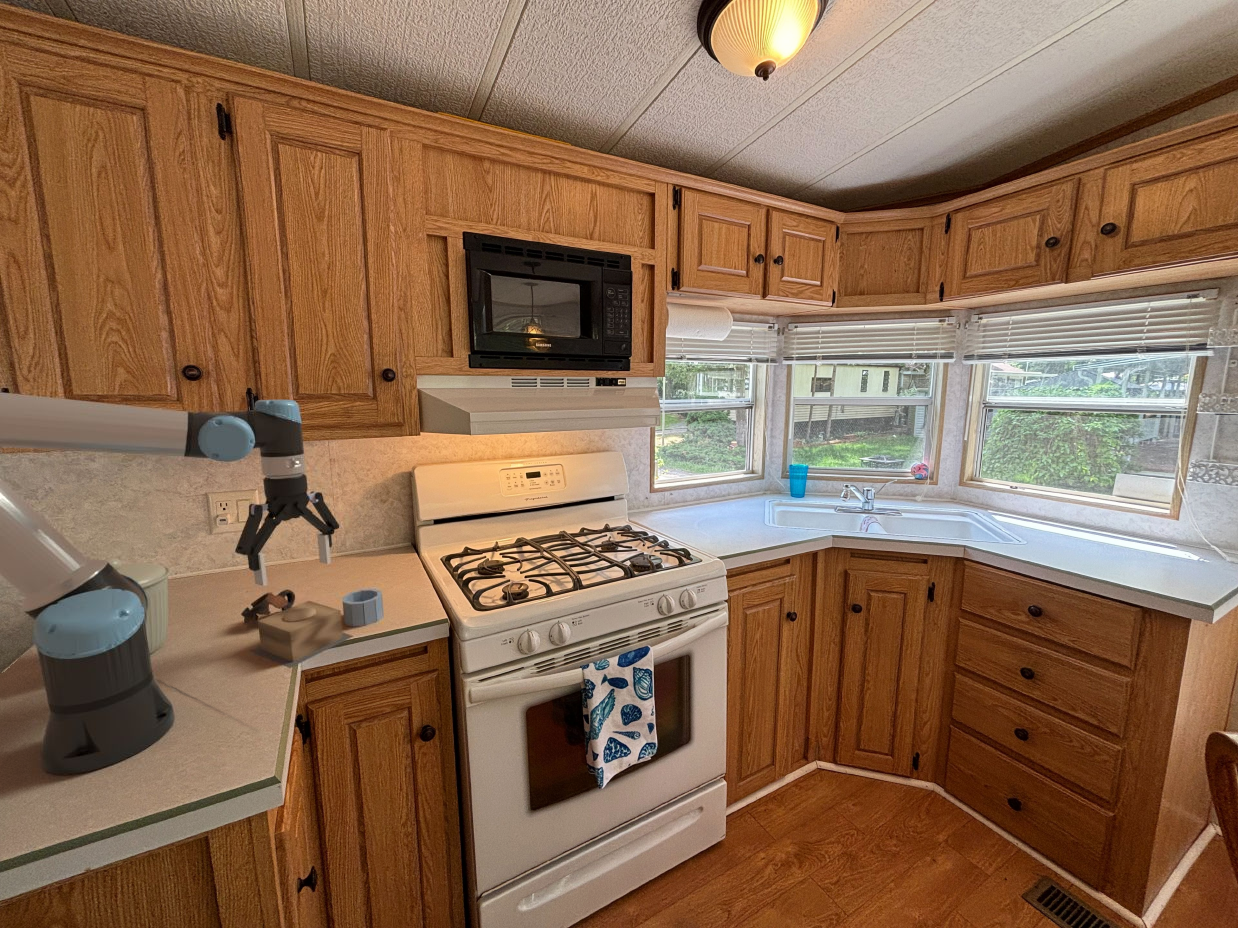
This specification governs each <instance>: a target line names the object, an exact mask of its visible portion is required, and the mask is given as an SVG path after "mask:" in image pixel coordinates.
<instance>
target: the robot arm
mask: <svg viewBox="0 0 1238 928" xmlns="http://www.w3.org/2000/svg"><path fill="white" fill-rule="evenodd" d="M253 407H254V408H253V409H251V410H240V411H239V410H236V411H235V410H234V411H233V410H232V411H228V410H227V411H224V410H222V411H201V410H200V411H193V412H192V411H191V412H190V411H184V410H175V409H166V408H165V409H164V408H156V407H155V408H154V407H146V406H145V407H144V406H136V405H135V406H134V405H127V404H116V403H107V402H96V401H88V400H79V399H69V398H60V397H59V398H58V397H50V396H49V397H48V396H40V395H39V396H38V395H29V394H28V395H27V394H22V393H21V394H18V393H10V392H3V391H2V392H0V448H12V449H13V448H17V449H30V450H31V449H32V450H33V449H35V450H49V451H50V450H54V451H55V450H57V451H72V452H87V453H89V452H91V453H92V452H93V453H109V454H110V453H111V454H125V455H126V454H128V455H129V454H131V455H146V456H147V455H148V456H150V455H151V456H163V457H164V456H165V457H167V456H169V457H183V458H184V457H185V458H193V459H194V458H196V459H211V460H213V461H216V462H221V463H222V462H224V463H229V462H231V463H232V462H237V461H240V460H242V459H244V458H246V457H247V456H248V455H250V453H251V452H252V451H253V450H255V449H259V451H260V455H259V456H260V463H261V473H262V475H263V476H265V477H264V479H263V481H262V482H263V483H262V484H263V489H264V490H263V492H264V495H265V498H266V500H265V502H264V503H261V504H260V503H257V504H256V503H249V506H248V517H247V519H246V521H245V525H244V527H243V529H242V531H241V533H240V534H241V535H240V537H239V539H238V542H237V544H236V547H235V549H234V550H235V551H234V552H235V554H239V555H243V556H247V563H248V569H249V570H250V571H253V575H254V582H255V585H259V586H262V587H265V586H268V578H267V569H266V563H265V562H266V561H265V554H264V553H261V551H262V550H263V548H264V546H265V545H266V543H267V542H268V540H269V539H270V537H271V535H272V534H273V533H274V531H275V529H276V528H277V527H278V526H279V525H280V524H281V523H282V521H283V522H288V521H290V520H293V519H299V518H301V517H302V518H303V519H304V520H305V521H307V523H309V524H310V525H312V526H313V527H314V528H315V529H316V530H318V531H319V532H320V533H318V534H317V535H316V537H317V547H318V557H319V563H321V564H325V565H329V564H331V563H332V562H331V550H330V548H332V546H333V541H332V535H334V534H335V530H339V528H340V524H339V522H338V521H337V519H336V517H334V515H333V513H332V511H331V510H330V508H329V506H327V504H326V503H325V500H324V495H323V493H322V492H319V491H311V492H310V493H309V494H308V490H309V489H308V479H307V475H306V474H305V472H306V471H307V470H306V461H305V451H304V450H305V449H304V437H303V424H302V423H303V421H302V418H301V412H300V406H299V403H297V402H296V400H294V399H293V400H292V399H260V400H257V401H255V402H254V406H253ZM309 503H311V504H312V505H313V507H314V508H315V510H316V511H317V513H318V514H319V516H320V517H321V519H322V520H321V519H320V518H319V517H317V515H316V514H315V513H313V511H312V510H311V509H309V508H308V504H309ZM266 512H268V513H267V515H266V516H265V518H263V516H264V515H265V514H266ZM262 519H264V520H263V521H264V522H263V523H262V525H261V522H262ZM260 525H261V526H260ZM0 576H1V577H2V578H3V579H4V580H5V581H7V582H8V583H9V584H10V585H12V586H13V587H14V588H15V589H17V590H18V591H19V592H20V593H22V594H23V596H24V597H23V598H24V600H23V603H22V607H21V610H22V611H23V612H24V613H25V614H27V615H28V616H29V617H30V618H31V619H33V620H34V621H33V622H34V624H33V635H32V642H33V644H34V645H35V648H36V651H37V654H38V655H37V656H38V660H39V665H40V669H41V674H42V679H43V685H44V689H45V695H46V699H47V703H48V708H49V717H48V721H47V725H46V727H45V728H46V729H45V731H44V735H43V739H42V743H41V747H40V750H39V755H40V761H41V766H42V769H43V770H44V771H45V772H46V773H49V774H53V775H60V776H61V775H62V776H66V775H67V776H68V775H77V774H82V773H87V772H91V771H95V770H98V769H101V768H102V769H103V768H105V767H108V766H110V765H113V764H115V763H118V762H121V761H123V760H126V759H128V758H129V757H132V756H134V755H136V754H138V753H139V752H141V751H144V750H145V749H147V748H148V747H150V746H152V745H153V744H155V743H156V742H157V741H159V740H160V739H161V738H163V737H164V736H165V735H166V733H168V731H169V730H170V729H171V728H172V726H173V725H174V723H175V713H174V712H175V710H174V706H173V704H172V702H171V701H170V700H169V698H168V697H167V695H166V694H165V693H164V692H163V690H162V689H161V688H160V686H159V685H158V684H157V682H156V681H155V679H154V673H153V667H152V661H151V654H150V653H149V647H148V640H147V631H146V621H147V609H148V599H147V596H146V595H145V594H146V593H145V591H144V589H143V588H142V586H141V585H140V584H139V583H138V582H136V581H135V580H134V579H132V578H130V577H128V576H126V575H122V574H120V573H119V572H118V571H117V570H116V569H115V568H113V567H112V566H111V565H110V564H109V563H108V562H107V561H106V560H105V559H93V558H92V559H91V558H87V557H86V556H85V555H84V554H83V553H82V552H81V551H79V549H78V548H77V547H75V546H74V545H73V544H72V543H71V542H70V541H69V540H68V539H67V538H66V537H65V536H63V535H62V534H61V533H60V532H59V531H58V530H57V529H56V528H55V527H53V525H52V524H51V523H49V522H48V521H47V520H46V518H44V517H43V516H42V515H41V514H40V513H39V512H38V511H36V510H35V509H34V508H33V507H32V506H31V505H30V504H29V503H28V502H27V501H26V500H24V499H23V498H22V496H20V495H19V494H18V493H17V492H16V491H15V490H13V488H12V487H10V485H8V484H7V483H6V482H5V481H4V480H3V479H2V478H1V477H0Z"/></svg>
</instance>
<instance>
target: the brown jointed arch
mask: <svg viewBox="0 0 1238 928" xmlns="http://www.w3.org/2000/svg"><path fill="white" fill-rule="evenodd" d="M295 600H296V594H295V592H293V590H291V589H284V590H281V591H280V592H279V593H277V595H275V594H273V592H270V591H269V592H266V593H264V594H263V595H262V596H260V597H258V598H257V599H256V600H254V601H253V602H252V603H251V604H250V606H251V607H252V608H249V606H248V607H246V608H244V610H243V611H242V612H241V616H242V617H243V622H244V624H249V623H254V624H256V623H257V622H256V621H258V619H259V616H268V615H270V614H271V611H270V605H272V606H273V607H274V608H276V609H280V610H281V611H284V610H286V609H289V608H291V607H294V604H295Z"/></svg>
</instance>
